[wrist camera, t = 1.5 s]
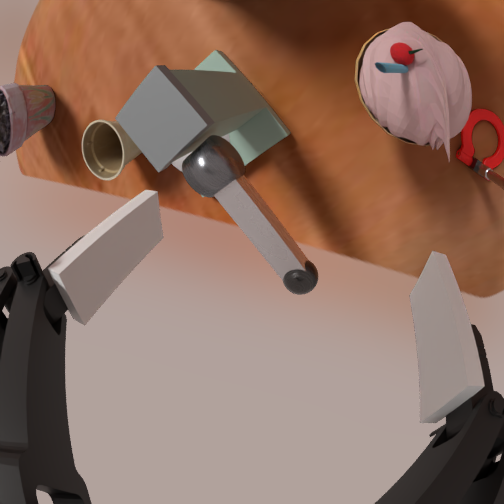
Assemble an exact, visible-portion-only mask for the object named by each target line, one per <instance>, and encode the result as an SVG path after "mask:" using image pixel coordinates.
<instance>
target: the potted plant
mask: <svg viewBox="0 0 504 504" xmlns="http://www.w3.org/2000/svg"><path fill="white" fill-rule="evenodd" d="M55 107H56V104H55V95H54V93H53V91H52V89H51V87H49V86H48V85H18V84H16V83H11V84H7V85H2V86H0V156H7V155H9V154H10V153H12V152H13V151H15V150H16V149H18V148H20V147H21V146H22V144H23V142H24V141H25V140H27V139H28V138H29V137H31V136H32V135H34V134H35V133H36V132H38V131H39V130H41V129H42V128H44V127H45V126H46V125H48V124H49V123H50V122H51V120H52V119H53V118H54V112H55Z"/></svg>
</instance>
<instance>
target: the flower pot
mask: <svg viewBox="0 0 504 504" xmlns="http://www.w3.org/2000/svg"><path fill="white" fill-rule="evenodd" d="M82 153H83V157H84V160H85V163H86V165H87V167H88V168H89V170H90V171H91V172H92V173H93V174H94V175H95V176H96V177H98V178H100V179H102V180H112V179H114V178H116V177H117V176H118V175H119V174H120V173H121V171H122V169H123V168H124V167H125V165H127V164H128V163H129V162H130V161H132V160H133V159H134V158H136V157H137V156H138V155H140V154H141V153H142V151H141V150H140V149H139V148H138V146H137V145H136V144H135V143H134V141H133V140H132V139H131V138H130V136H129V135H128V134H127V133H126V131H125V130H124V129H123V128H122V126H121V125H120V124H119V123H118V121H114V122H111V121H106V120H96V121H93V122H92V123H90V124H89V126H88V127H87V128H86V130H85V132H84V135H83V138H82Z"/></svg>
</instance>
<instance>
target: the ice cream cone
mask: <svg viewBox="0 0 504 504" xmlns="http://www.w3.org/2000/svg"><path fill="white" fill-rule="evenodd" d="M355 84H356V87H357V91H358V94H359V98H360V101H361V103H362V104H363V106H364V107H365V109H366V111H367V112H368V114H369V116H370V117H371V119H372V120H373V121H374V122H375V123H377V124H378V125H379V126H380V127H381V128H382V129H383V130H384V131H385V132H386V133H387V134H389V135H391V136H393V137H395V138H397V139H399V140H401V141H403V142H405V143H409V144H415V145H420V146H430V145H431V147H432V150H433V149H434V148H435V146H436V149H437V150H438V149H439V148H440V146H441V145H442V144H443V143H444V145H445V149H446V152H447V156H448V160H449V163H450V139H451V138H453V137H454V136H456V135H457V134H458V133H459V132H461V131H462V129H463V127H464V126H465V124H466V122H467V121H468V118H469V115H470V111H471V106H472V89H471V83H470V79H469V76H468V72H467V70H466V68H465V65H464V63H463V62H462V60H461V59H460V57H459V56H457V55H456V54H455V52H454V51H453V50H452V48H451V47H450V46H449V45H448V44H446V43H444V42H442V41H441V40H440V39H439V38H437V37H436V36H435V35H432V34H430V33H427V32H425V31H423V30H421V29H420V28H419V27H418V26H416V25H415V24H413V23H412V22H402V23H400V24H397V25H396V26H394V27H392V28H389V29H386V30H383V31H380V32H377V33H376V34H375V35H373V36H372V37H371V38H370V39H369V40H368V41H367V42H366V43H365V44H363V46H362V49H361V51H360V53H359V55H358V57H357V60H356V67H355Z"/></svg>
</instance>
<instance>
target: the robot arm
mask: <svg viewBox="0 0 504 504" xmlns="http://www.w3.org/2000/svg"><path fill="white" fill-rule="evenodd" d="M162 239H163V232H162V224H161V217H160V209H159V200H158V192H157V191H150V190H144V191H143V192H142V193H140V194H139V195H137V196H136V197H135V198H133V199H132V200H130V201H129V202H128V203H126V204H125V205H124V206H122V207H121V208H120V209H118V210H117V211H116V212H114V213H113V214H112V215H110V216H109V217H108V218H107V219H105V220H104V221H103V222H101V223H100V224H99V225H98V226H96V227H95V228H94V229H93V230H92V231H90V232H89V233H88V234H86V235H85V236H82V237H81V238H79V239H78V240H77V241H75V242H74V243H73V244H72V246H70V247H68V248H67V249H66V251H65V252H63V253H62V254H61V255H60V256H58V257H57V258H56V259H55V260H54V261H53V262H52V263H51V264H49V265H48V266H47V267H46V268H45V269H44V270H43V271H42V269H41V267H40V264H39V263H38V260H37V258H36V255H35V254H34V253H32V252H27V253H24V254H22V255H20V256H19V257H17V258H16V259H15V260H14V261H13V262H12V264H11V267H3V268H2V269H0V504H38V500H37V496H36V489H37V490H40V491H44V492H46V493H48V494H49V495H50V497H51V498H52V501H53V504H91V501H90V497H89V494H88V490H87V487H86V484H85V482H84V480H83V478H82V477H81V476H80V475H79V474H78V472H77V470H76V468H75V465H74V459H73V454H72V448H71V441H70V435H69V426H68V419H67V418H68V417H67V405H66V390H65V340H66V322H67V319H66V315H65V314H64V313H65V312H66V311H67V310H69V312H70V314H71V316H72V317H73V319H75V320H76V321H78V322H80V323H82V324H83V325H86V323H87V322H88V321H89V320H90V319H91V317H92V316H93V315H94V314H95V313H96V311H97V310H98V309H99V308H100V307H101V305H102V304H103V303H104V302H105V301H106V299H107V298H108V297H109V296H110V295H111V294H112V293H113V292H114V290H115V289H116V288H117V287H118V286H119V285H120V284H121V283H122V281H123V280H124V279H125V278H126V277H127V276H128V275H129V274H130V273H131V271H132V270H133V269H134V268H135V267H136V266H137V265H138V264H139V263H140V262H141V260H143V259H144V257H145V256H146V255H147V254H148V253H149V252H150V251H151V250H152V249H153V248H154V247H155V246H156V245H157V244H158V243H159V242H160V241H161V240H162ZM410 302H411V308H412V315H413V321H414V328H415V336H416V346H417V356H418V369H419V387H420V423H437V422H438V421H440V420H441V419H443V418H444V417H446V424H445V425H443V426H441V427H440V428H438V429H437V430H435V431H433V432H432V433H431V434H430V437H431V436H433V435H435V434H436V436H435V437H434V438H433V440H432V441H431V442H430V444H429V445H428V446H427V448H426V449H425V450H424V451H423V453H422V454H421V455H420V456H419V457H418V459H417V460H416V461H415V462H414V463H413V465H412V466H411V467H410V468H409V469H408V470H407V471H406V473H405V474H404V475H403V476H402V477H401V478H400V479H399V480H398V481H397V482H396V483H395V484H394V485H393V486H392V487H391V488H390V489H389V490H388V491H387V493H385V494H384V495H383V496H382V497H381V498H380V499H379V500H378V501H377V502H376V503H375V504H504V398H503V397H502V395H501V394H499V393H498V392H497V391H494V390H493V385H492V380H491V375H490V369H489V364H488V360H487V358H486V352H485V349H484V344H483V340H482V336H481V334H480V333H479V331H478V329H477V327H476V326H475V325H472V324H471V323H470V320H469V317H468V313H467V310H466V307H465V304H464V301H463V298H462V295H461V292H460V290H459V287H458V284H457V281H456V279H455V276H454V274H453V271H452V269H451V266H450V264H449V261H448V259H447V257H446V255H445V254H442V253H438V252H435V251H432V253H431V255H430V257H429V259H428V261H427V263H426V265H425V267H424V269H423V271H422V273H421V275H420V277H419V279H418V281H417V283H416V284H415V286H414V288H413V290H412V292H411V294H410ZM4 306H5V307H6V309H7V310H8V312H9V313H10V314H9V318H6V316H5V315H4V313H3V312H2V310H3V307H4ZM500 454H502V456H501V459H500V461H498V462H495V460H496V456H498V455H500Z"/></svg>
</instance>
